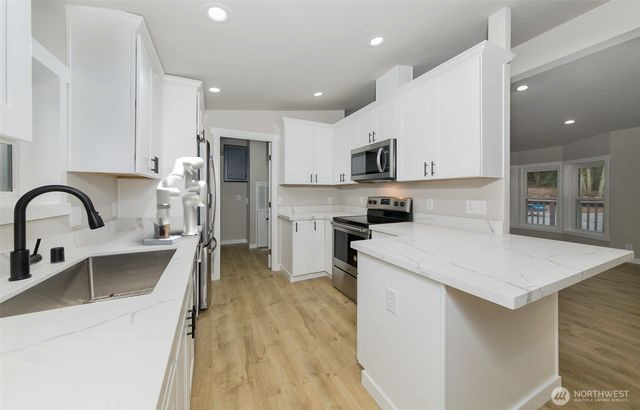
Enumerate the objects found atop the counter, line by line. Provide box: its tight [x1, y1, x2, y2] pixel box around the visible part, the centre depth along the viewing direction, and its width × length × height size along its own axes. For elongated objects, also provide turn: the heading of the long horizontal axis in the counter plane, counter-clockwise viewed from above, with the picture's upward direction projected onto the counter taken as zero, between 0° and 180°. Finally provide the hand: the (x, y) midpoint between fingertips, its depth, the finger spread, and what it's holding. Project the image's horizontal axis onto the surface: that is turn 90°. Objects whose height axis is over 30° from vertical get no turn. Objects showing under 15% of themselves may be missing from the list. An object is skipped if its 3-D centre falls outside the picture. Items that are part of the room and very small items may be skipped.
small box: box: [153, 222, 171, 237], centre depth 180 cm, size 11×6×10 cm, turn 56°
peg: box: [159, 223, 170, 239], centre depth 163 cm, size 4×4×10 cm
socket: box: [143, 235, 182, 246], centre depth 164 cm, size 16×16×3 cm
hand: (163, 234), depth 163 cm, fingers closed on peg, 4 cm apart
